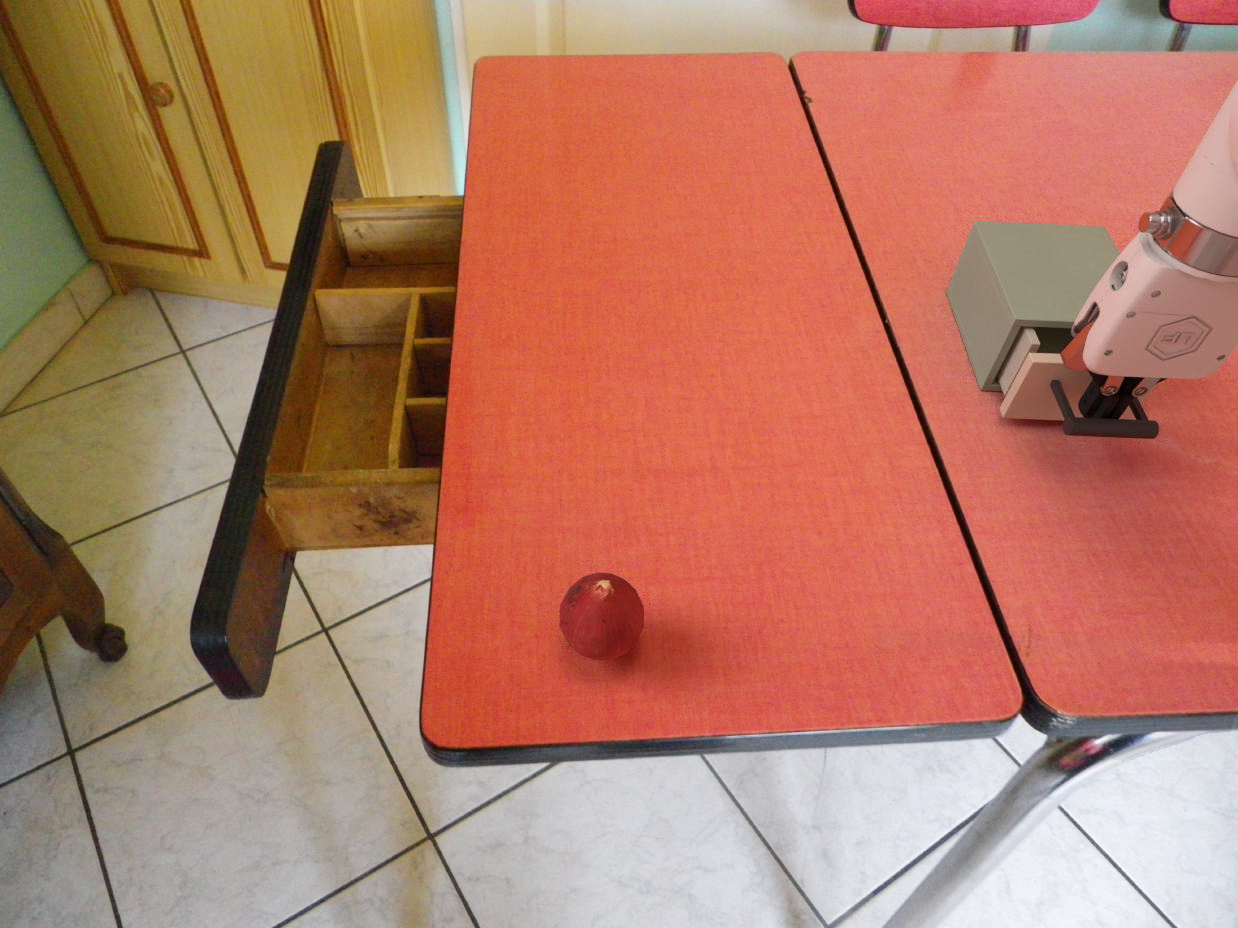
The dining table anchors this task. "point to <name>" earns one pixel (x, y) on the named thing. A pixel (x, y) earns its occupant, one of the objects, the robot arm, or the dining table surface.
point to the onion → (601, 616)
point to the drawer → (1060, 388)
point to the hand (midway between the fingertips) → (1093, 418)
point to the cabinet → (1022, 284)
